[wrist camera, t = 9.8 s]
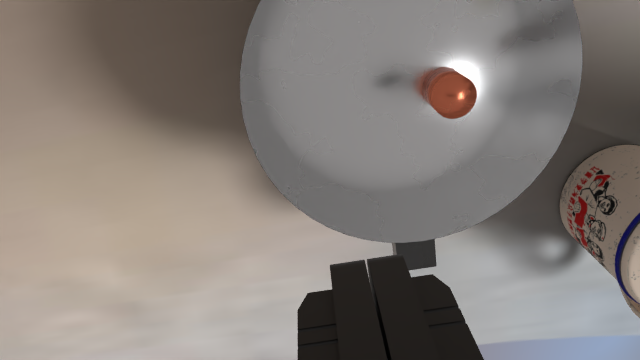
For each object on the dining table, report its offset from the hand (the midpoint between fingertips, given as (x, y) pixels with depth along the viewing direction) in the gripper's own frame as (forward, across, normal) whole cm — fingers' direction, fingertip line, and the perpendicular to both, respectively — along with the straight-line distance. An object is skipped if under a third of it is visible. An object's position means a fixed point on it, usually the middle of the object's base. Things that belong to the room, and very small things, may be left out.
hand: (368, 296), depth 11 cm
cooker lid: (+17, -4, 0) cm, 17 cm away
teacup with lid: (+27, -21, +15) cm, 38 cm away
